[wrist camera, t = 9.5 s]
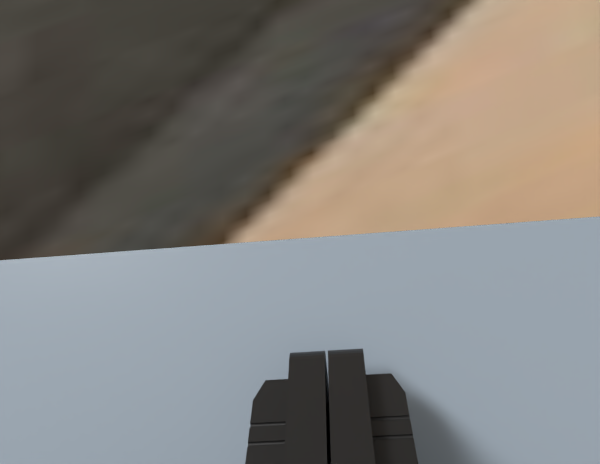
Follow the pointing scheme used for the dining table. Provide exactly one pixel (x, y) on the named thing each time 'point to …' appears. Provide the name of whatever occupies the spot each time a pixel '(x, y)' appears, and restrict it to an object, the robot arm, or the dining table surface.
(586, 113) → the dining table surface
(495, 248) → the duct lid
